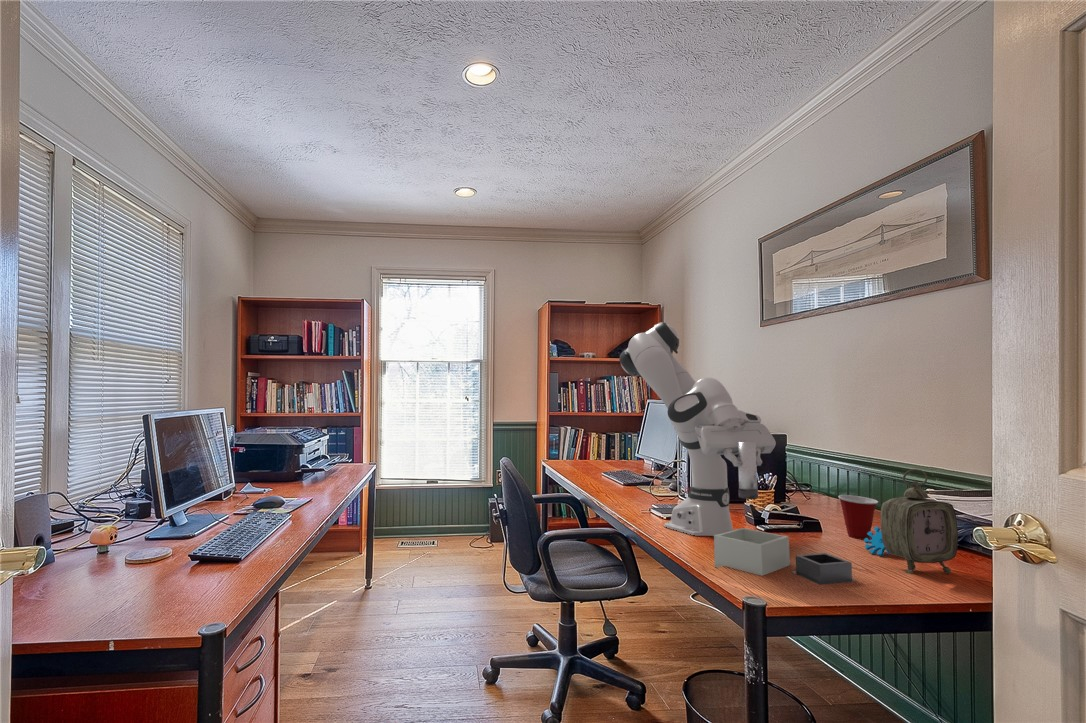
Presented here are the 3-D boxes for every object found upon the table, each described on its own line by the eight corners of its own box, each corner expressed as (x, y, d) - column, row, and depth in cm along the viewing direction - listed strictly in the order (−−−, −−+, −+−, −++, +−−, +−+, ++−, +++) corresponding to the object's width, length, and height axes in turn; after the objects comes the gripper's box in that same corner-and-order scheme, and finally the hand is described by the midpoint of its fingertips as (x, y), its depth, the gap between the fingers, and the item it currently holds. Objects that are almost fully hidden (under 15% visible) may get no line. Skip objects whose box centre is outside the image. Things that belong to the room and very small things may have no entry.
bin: (714, 567, 143) (713, 535, 144) (743, 558, 152) (742, 527, 152) (762, 579, 133) (761, 545, 134) (789, 569, 142) (788, 536, 142)
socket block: (791, 575, 136) (790, 554, 137) (826, 572, 139) (826, 551, 139) (820, 589, 127) (819, 566, 127) (858, 585, 129) (857, 563, 129)
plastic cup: (879, 543, 166) (878, 501, 167) (838, 538, 172) (836, 498, 172) (880, 535, 175) (878, 496, 176) (841, 531, 181) (839, 493, 182)
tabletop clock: (908, 579, 133) (903, 472, 134) (878, 568, 141) (874, 468, 143) (960, 575, 135) (954, 470, 137) (927, 564, 144) (922, 466, 146)
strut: (735, 497, 144) (733, 442, 145) (745, 495, 147) (743, 441, 148) (751, 499, 140) (749, 443, 141) (762, 497, 143) (760, 442, 144)
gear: (855, 543, 159) (878, 518, 160) (867, 557, 160) (889, 531, 161) (887, 560, 148) (911, 532, 149) (899, 574, 149) (923, 546, 150)
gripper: (695, 417, 150) (715, 458, 139) (764, 415, 154) (788, 455, 144) (688, 433, 154) (707, 473, 143) (755, 431, 158) (778, 470, 148)
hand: (748, 464), depth 144 cm, fingers closed on strut, 4 cm apart
